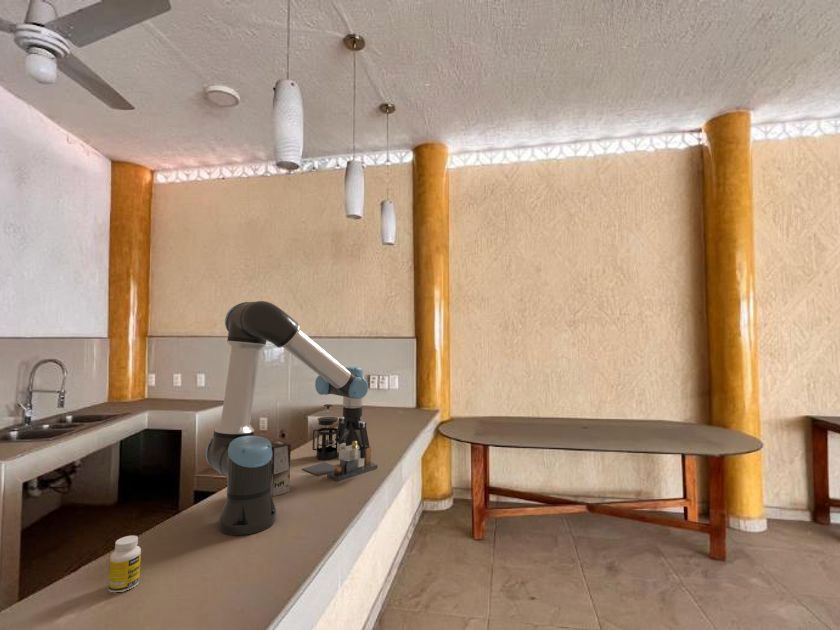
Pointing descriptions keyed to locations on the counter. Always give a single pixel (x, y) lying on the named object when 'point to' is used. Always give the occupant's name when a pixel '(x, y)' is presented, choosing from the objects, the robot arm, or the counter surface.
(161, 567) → the counter surface
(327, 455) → the french press
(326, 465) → the mat
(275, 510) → the robot arm
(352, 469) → the grey stand
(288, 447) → the coffee box
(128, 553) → the supplement bottle
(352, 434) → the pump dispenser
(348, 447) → the white box with knob
